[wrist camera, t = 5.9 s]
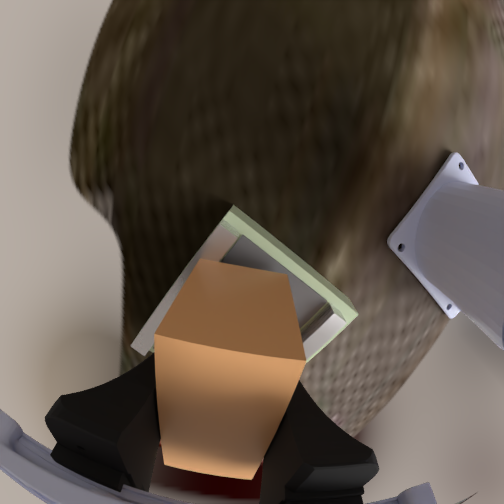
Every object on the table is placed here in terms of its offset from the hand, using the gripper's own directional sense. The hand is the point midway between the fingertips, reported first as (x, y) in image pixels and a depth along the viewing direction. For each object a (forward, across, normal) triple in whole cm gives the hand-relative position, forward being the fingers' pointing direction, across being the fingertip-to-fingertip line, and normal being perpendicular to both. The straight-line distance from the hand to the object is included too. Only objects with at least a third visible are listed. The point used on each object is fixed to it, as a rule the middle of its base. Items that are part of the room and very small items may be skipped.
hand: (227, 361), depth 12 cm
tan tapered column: (+2, 0, 0) cm, 2 cm away
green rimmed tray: (+5, 0, 0) cm, 5 cm away
